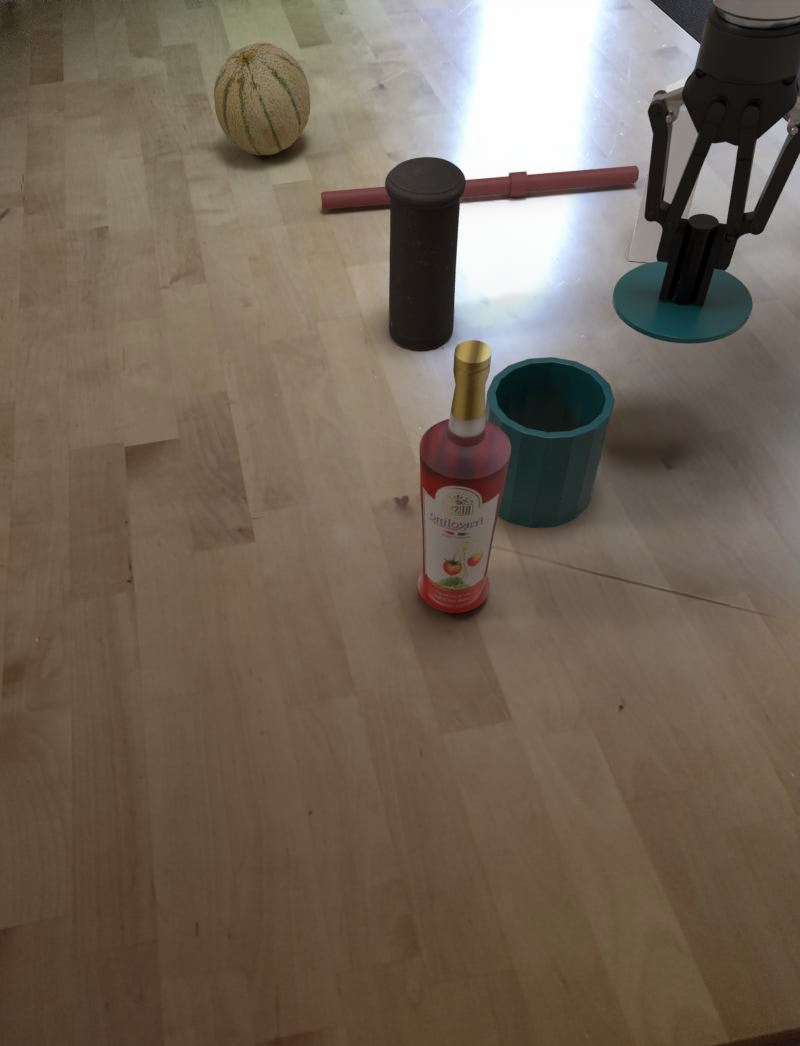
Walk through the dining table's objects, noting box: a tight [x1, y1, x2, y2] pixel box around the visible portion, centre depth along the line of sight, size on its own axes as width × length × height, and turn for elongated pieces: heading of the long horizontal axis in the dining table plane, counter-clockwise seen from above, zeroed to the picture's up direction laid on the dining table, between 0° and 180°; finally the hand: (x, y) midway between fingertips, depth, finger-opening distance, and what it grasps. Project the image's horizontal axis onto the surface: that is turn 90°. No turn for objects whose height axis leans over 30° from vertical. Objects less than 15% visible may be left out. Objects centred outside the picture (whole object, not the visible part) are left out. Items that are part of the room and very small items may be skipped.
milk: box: [627, 74, 701, 264], centre depth 110 cm, size 6×6×22 cm
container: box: [384, 156, 467, 351], centre depth 104 cm, size 9×9×20 cm
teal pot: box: [485, 356, 615, 529], centre depth 90 cm, size 12×12×12 cm
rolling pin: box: [320, 165, 640, 210], centre depth 128 cm, size 45×3×3 cm, turn 92°
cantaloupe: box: [213, 42, 312, 156], centre depth 136 cm, size 15×15×15 cm
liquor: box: [417, 339, 511, 614], centre depth 76 cm, size 7×7×28 cm
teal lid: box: [611, 213, 753, 345], centre depth 82 cm, size 13×13×9 cm
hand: (682, 294), depth 84 cm, fingers closed on teal lid, 3 cm apart
